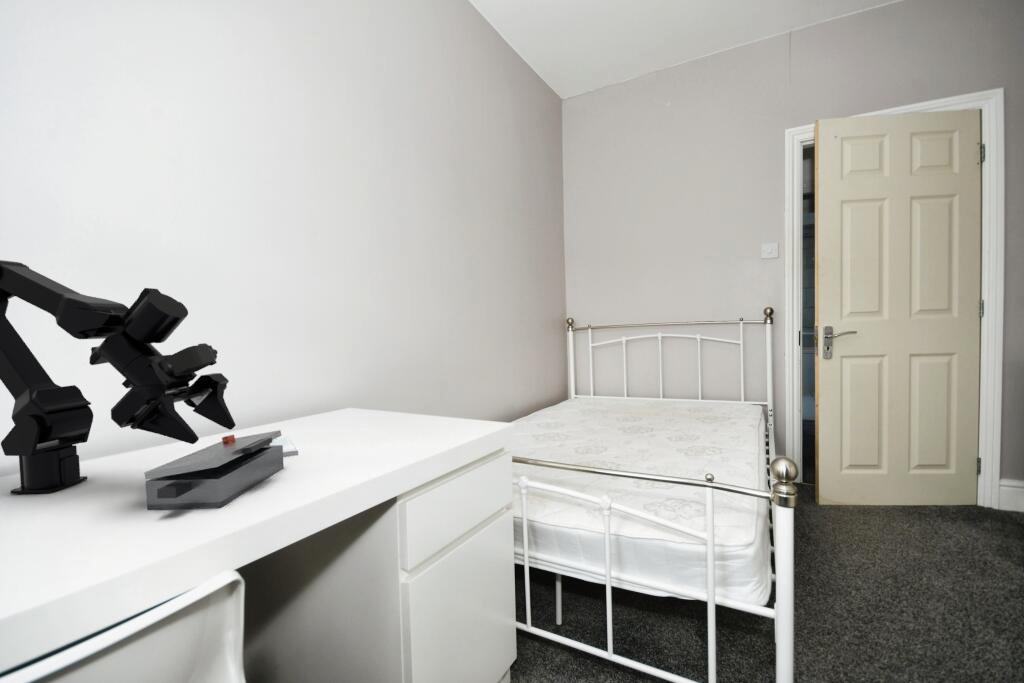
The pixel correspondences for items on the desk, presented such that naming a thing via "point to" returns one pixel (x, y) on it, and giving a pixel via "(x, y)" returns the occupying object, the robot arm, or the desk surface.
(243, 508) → the desk surface
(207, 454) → the box lid
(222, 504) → the grey hinged box
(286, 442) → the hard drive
